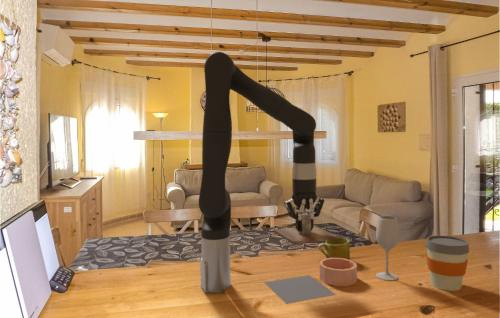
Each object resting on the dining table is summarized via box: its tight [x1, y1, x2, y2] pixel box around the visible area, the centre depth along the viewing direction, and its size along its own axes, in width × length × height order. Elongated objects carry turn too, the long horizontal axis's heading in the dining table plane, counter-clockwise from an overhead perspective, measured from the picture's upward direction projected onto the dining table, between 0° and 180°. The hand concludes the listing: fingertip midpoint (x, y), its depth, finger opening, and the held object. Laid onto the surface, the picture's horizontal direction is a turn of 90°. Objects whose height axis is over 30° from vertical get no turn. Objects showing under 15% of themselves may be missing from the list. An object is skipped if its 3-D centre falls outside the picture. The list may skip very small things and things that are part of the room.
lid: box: [273, 212, 338, 245], centre depth 121 cm, size 15×15×7 cm
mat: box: [263, 274, 337, 305], centre depth 122 cm, size 17×17×1 cm
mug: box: [317, 236, 351, 260], centre depth 150 cm, size 12×10×10 cm
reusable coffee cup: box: [425, 234, 470, 292], centre depth 125 cm, size 13×13×15 cm
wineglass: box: [375, 215, 400, 282], centre depth 132 cm, size 8×8×21 cm
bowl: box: [319, 257, 358, 287], centre depth 129 cm, size 12×12×6 cm
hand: (304, 230), depth 121 cm, fingers closed on lid, 3 cm apart
